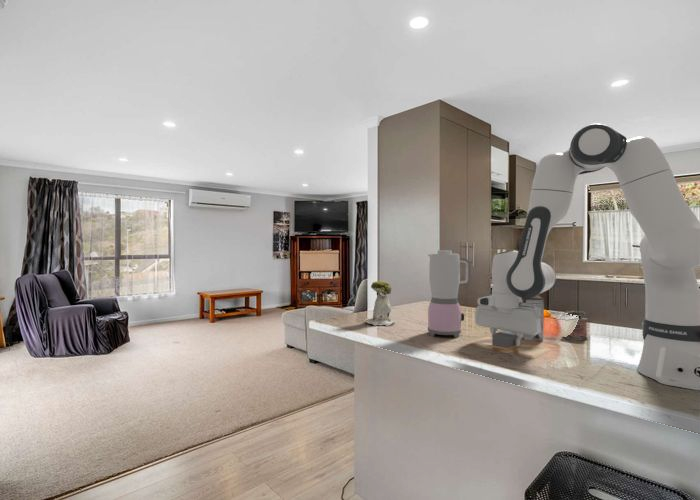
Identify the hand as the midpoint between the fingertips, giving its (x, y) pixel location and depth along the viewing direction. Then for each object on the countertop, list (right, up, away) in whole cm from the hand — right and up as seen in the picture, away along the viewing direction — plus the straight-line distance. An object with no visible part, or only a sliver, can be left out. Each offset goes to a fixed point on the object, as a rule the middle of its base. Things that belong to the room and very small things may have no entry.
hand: (506, 343), depth 119 cm
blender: (-13, -2, +22) cm, 25 cm away
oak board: (0, -2, 0) cm, 2 cm away
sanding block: (0, -1, 0) cm, 1 cm away
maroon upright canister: (+31, -2, +16) cm, 35 cm away
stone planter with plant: (-37, -2, +42) cm, 56 cm away
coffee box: (+13, -2, +12) cm, 18 cm away
